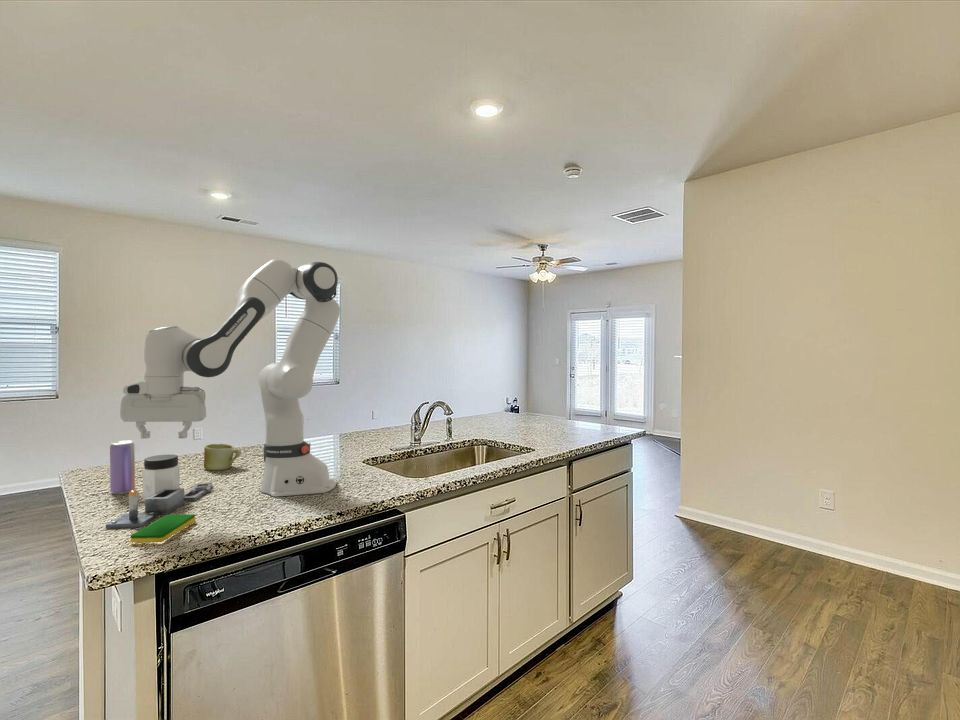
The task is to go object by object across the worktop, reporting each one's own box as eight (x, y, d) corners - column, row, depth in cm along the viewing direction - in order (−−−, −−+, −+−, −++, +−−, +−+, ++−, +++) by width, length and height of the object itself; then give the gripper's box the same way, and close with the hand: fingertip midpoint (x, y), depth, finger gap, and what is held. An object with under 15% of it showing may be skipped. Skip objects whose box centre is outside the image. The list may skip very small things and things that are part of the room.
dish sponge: (196, 523, 122) (195, 513, 122) (162, 546, 108) (162, 535, 108) (167, 523, 121) (166, 514, 121) (129, 546, 108) (129, 535, 108)
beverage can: (122, 495, 142) (121, 444, 142) (105, 494, 143) (104, 443, 143) (140, 489, 148) (139, 440, 148) (123, 488, 149) (123, 439, 149)
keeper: (159, 516, 125) (159, 485, 125) (141, 527, 117) (141, 495, 117) (126, 517, 124) (125, 486, 124) (105, 528, 117) (105, 496, 116)
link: (184, 504, 135) (184, 488, 135) (167, 515, 126) (167, 498, 126) (163, 504, 134) (163, 488, 134) (145, 515, 125) (144, 499, 125)
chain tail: (220, 485, 153) (220, 479, 153) (197, 500, 138) (197, 494, 138) (196, 485, 152) (196, 479, 152) (171, 501, 137) (171, 494, 137)
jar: (136, 501, 137) (135, 459, 137) (162, 493, 145) (162, 453, 144) (160, 504, 134) (159, 461, 134) (186, 496, 142) (185, 455, 142)
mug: (191, 466, 169) (202, 438, 172) (210, 468, 179) (221, 442, 182) (220, 475, 167) (231, 446, 169) (238, 476, 176) (249, 450, 179)
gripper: (210, 386, 134) (210, 435, 134) (131, 385, 131) (131, 436, 132) (199, 387, 127) (199, 440, 128) (116, 387, 125) (116, 440, 126)
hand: (164, 438), depth 130 cm, fingers open, 8 cm apart
